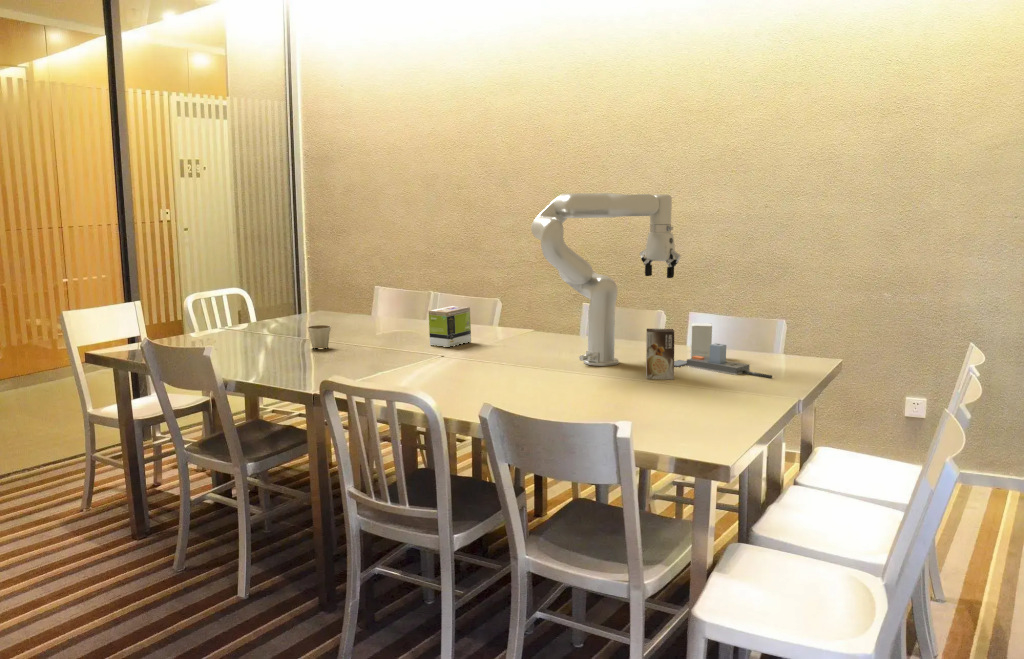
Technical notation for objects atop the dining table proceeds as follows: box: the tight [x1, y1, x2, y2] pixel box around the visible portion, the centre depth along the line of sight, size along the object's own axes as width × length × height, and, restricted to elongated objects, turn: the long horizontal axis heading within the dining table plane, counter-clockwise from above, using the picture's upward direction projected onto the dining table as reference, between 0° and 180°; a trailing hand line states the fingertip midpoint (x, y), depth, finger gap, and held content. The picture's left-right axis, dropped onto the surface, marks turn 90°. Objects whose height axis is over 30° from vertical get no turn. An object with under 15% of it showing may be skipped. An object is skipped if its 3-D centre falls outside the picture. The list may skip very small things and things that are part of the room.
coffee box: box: [645, 328, 675, 380], centre depth 279 cm, size 9×6×16 cm
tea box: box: [428, 305, 472, 348], centre depth 341 cm, size 15×10×15 cm, turn 144°
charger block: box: [709, 342, 727, 364], centre depth 293 cm, size 4×4×8 cm
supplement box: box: [690, 322, 713, 359], centre depth 311 cm, size 7×7×13 cm
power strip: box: [686, 356, 773, 379], centre depth 289 cm, size 8×31×3 cm, turn 43°
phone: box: [674, 359, 687, 368], centre depth 301 cm, size 10×6×1 cm, turn 136°
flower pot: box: [306, 324, 332, 349], centre depth 334 cm, size 9×9×9 cm
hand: (659, 276), depth 306 cm, fingers open, 9 cm apart
